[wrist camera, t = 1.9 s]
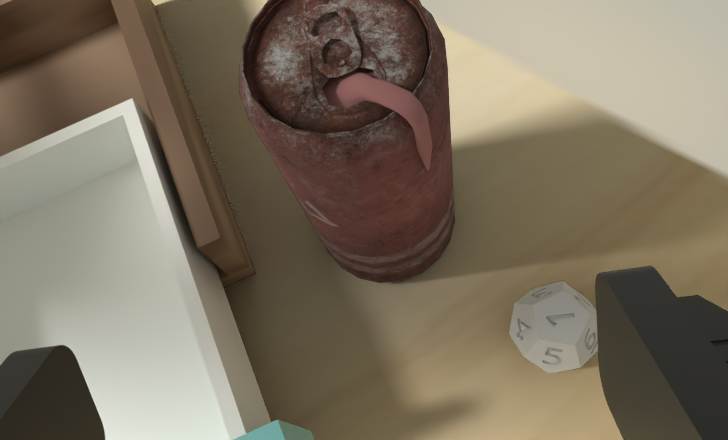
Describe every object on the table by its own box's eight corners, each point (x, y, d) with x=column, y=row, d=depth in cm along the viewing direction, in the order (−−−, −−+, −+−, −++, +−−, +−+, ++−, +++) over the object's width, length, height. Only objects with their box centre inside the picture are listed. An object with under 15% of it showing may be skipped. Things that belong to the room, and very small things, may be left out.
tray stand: (-41, 406, 32) (-127, 393, 27) (-94, 114, 38) (-171, 63, 34) (256, 272, 32) (220, 237, 28) (154, 5, 39) (111, -61, 34)
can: (412, 314, 31) (373, 189, 18) (297, 242, 32) (185, 82, 20) (484, 204, 32) (497, 12, 19) (370, 141, 34) (310, -73, 21)
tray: (-23, 605, 28) (-131, 632, 23) (-83, 257, 34) (-179, 218, 29) (318, 449, 28) (285, 442, 23) (198, 132, 34) (152, 71, 29)
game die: (605, 370, 29) (620, 359, 26) (514, 381, 29) (519, 370, 26) (587, 288, 30) (599, 268, 27) (500, 299, 30) (503, 281, 28)
